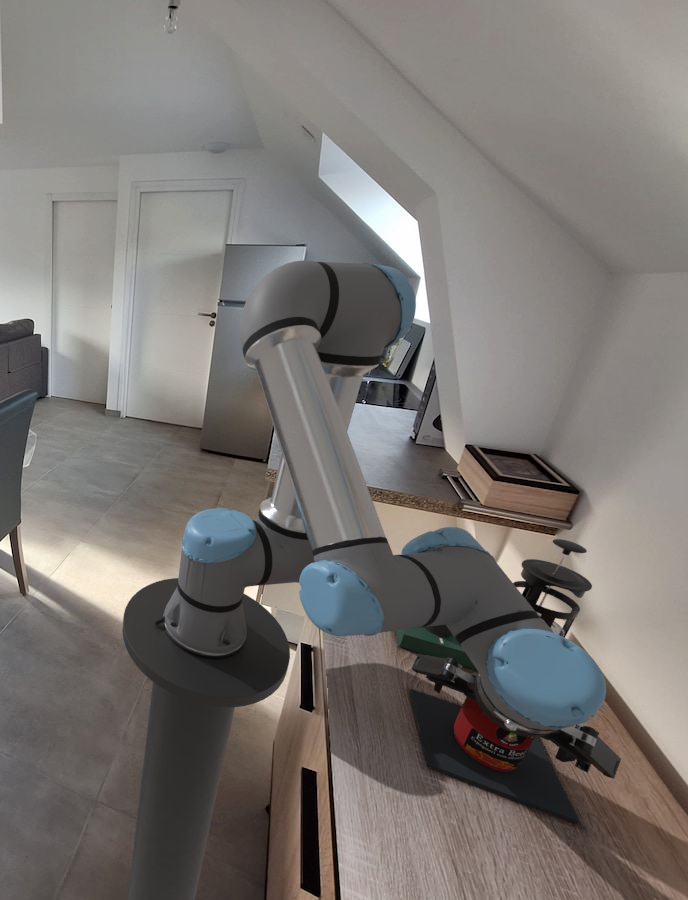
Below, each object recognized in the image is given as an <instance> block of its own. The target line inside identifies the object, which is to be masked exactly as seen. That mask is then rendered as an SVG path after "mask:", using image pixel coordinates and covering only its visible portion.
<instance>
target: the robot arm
mask: <svg viewBox="0 0 688 900" xmlns="http://www.w3.org/2000/svg"><path fill="white" fill-rule="evenodd" d="M416 309H417V301H416V293H415V290H414V287H413V285H412V284H411V283H410V282H409V278H408V277H407V276H406V275H405V273H403V272H402V271H401V270H399V269H397V268H395V267H392V266H388V265H383V264H376V263H370V262H361V263H357V262H335V261H315V260H303V259H301V260H294V261H291V262H287V263H284V264H282V265H280V266H277V267H275V268H274V269H272V270H270V271H269V272H268V273H267V274H265V275H264V276H263V277H262V278H261V279H260V280H259V281H258V282H257V283H256V284H255V285H254V287H253V289H252V290H251V291H250V292H249V295H248V297H247V299H246V301H245V303H244V306H243V309H242V312H241V316H240V322H239V341H240V347H241V351H242V354H243V358H244V361H245V364H246V366H247V367H248V368H249V369H251V370H254V371H256V373H257V377H258V379H259V383H260V386H261V389H262V392H263V397H264V399H265V402H266V405H267V409H268V412H269V413H268V414H269V416H270V420H271V422H272V426H273V430H274V432H275V435H276V438H277V441H278V445H279V449H280V452H281V454H280V458H279V463H278V466H277V471H276V476H275V479H274V485H273V489H272V493H271V496H270V497H268V498H266V499H264V500H263V501H262V502H261V503H260V505H259V509H258V513H257V517H256V518H251V517H250V516H249V515H248V514H246V513H244V512H243V511H240V510H236V509H232V510H229V508H223V507H222V508H221V507H218V508H208V509H205V510H202V511H199V512H197V513H195V514H194V515H193V516H191V517H190V519H189V520H188V522H187V523H186V525H185V528H184V532H183V537H182V539H181V552H180V561H179V570H178V576H177V578H178V585H177V588H176V590H175V592H174V593H173V595H172V597H171V599H170V600H169V602H168V604H167V606H166V608H165V611H164V616H163V617H161V618H159V619H157V620H155V623H156V625H158V624H160V623H162V622H163V626H164V629H165V632H166V634H167V635H168V637H169V638H170V639H171V641H172V642H173V643H174V644H176V645H177V646H178V647H179V648H181V649H182V650H184V651H186V652H188V653H190V654H192V655H195V656H198V657H202V658H207V659H224V658H228V657H231V656H233V655H235V654H237V653H238V652H239V651H240V650H241V649H242V648H243V646H244V644H245V640H246V635H247V626H246V621H245V616H244V611H243V606H242V599H243V594H245V589H246V588H248V587H249V588H250V587H258V586H269V585H280V584H292V583H298V584H299V586H300V590H298V591H299V592H298V594H299V600H300V603H301V605H302V608H303V610H304V613H305V614H306V616H307V617H308V619H309V621H310V622H311V623H312V624H313V625H314V626H315V627H317V628H318V629H319V631H322V632H323V633H325V634H328V635H331V636H335V637H352V636H353V637H354V636H366V637H371V636H375V635H377V634H380V633H388V632H396V630H402V629H409V628H418V627H420V628H421V627H429V626H437V625H445V624H446V626H447V627H448V629H449V630H450V631H451V633H452V634H453V636H454V637H455V639H456V640H457V641H458V643H459V645H460V646H462V648H463V649H464V651H465V652H466V654H467V655H468V657H469V658H470V660H471V661H472V663H473V664H474V666H475V667H476V669H477V670H476V671H477V672H476V671H474V672H472V673H468V672H466V671H464V670H463V669H462V668H463V666H462V665H459V662H458V661H457V660H455V659H454V658H450V657H448V658H446V659H444V658H439V657H433V656H429V655H426V654H422V653H418V654H417V656H416V658H415V660H414V662H413V664H412V667H411V670H412V671H413V672H414V673H416V674H420V675H424V676H425V678H426V679H428V681H430V682H432V683H434V686H433V691H434V692H435V693H437V694H440V693H441V692H442V689H443V687H445V688H448V689H451V690H453V691H457V692H459V693H461V694H463V695H464V696H465V698H466V697H468V698H469V699H471V700H472V701H474V702H476V703H478V705H479V707H480V708H481V710H482V711H483V712H484V713H485V715H486V716H487V717H488V718H489V719H490V720H492V721H493V722H494V723H495V724H497V725H498V726H500V727H501V728H503V729H505V730H507V731H509V732H511V733H514V734H517V735H521V736H526V737H538V738H542V739H544V740H546V741H550V742H551V743H553V744H554V745H555V746H557V747H558V749H557V752H556V755H555V756H554V759H555V760H558V761H560V762H561V763H568V762H575V761H576V762H575V764H574V767H575V768H577V769H579V770H581V771H583V772H585V773H586V774H587V773H589V771H590V769H591V766H593V767H594V768H595V769H597V771H598V772H599V773H601V774H602V775H603V776H605V777H606V778H610V779H615V778H616V774H617V772H618V769H619V766H620V763H621V760H622V758H621V757H620V756H619V755H618V753H616V752H615V751H614V750H613V749H612V748H611V747H610V746H609V745H608V744H607V743H606V742H605V741H604V740H603V739H602V738H601V737H600V731H599V732H598V730H596V729H595V728H594V727H592V726H589V725H583V726H582V725H581V724H585V723H587V722H588V721H589V720H590V718H594V717H595V715H596V713H597V712H598V711H599V710H600V709H601V707H602V706H603V704H604V703H605V700H606V696H607V682H606V679H605V676H604V673H603V672H602V670H601V668H600V666H599V665H598V664H597V662H596V660H595V659H594V658H593V657H592V656H591V655H590V654H589V653H588V652H587V651H585V649H584V648H582V647H581V646H579V645H578V644H576V643H575V642H573V641H571V640H570V639H568V638H566V637H565V638H564V637H562V636H560V635H557V634H555V633H554V632H553V631H552V630H551V629H550V627H549V626H548V625H547V624H546V623H545V621H544V620H543V619H541V618H540V617H539V615H538V614H537V613H536V611H535V610H534V609H533V608H532V607H531V605H530V604H529V603H528V602H527V600H526V599H525V598H524V597H523V595H522V593H521V591H520V590H519V588H518V587H515V585H514V584H513V583H514V582H512V580H511V579H510V577H509V576H508V575H507V574H506V572H505V571H504V570H503V569H502V568H501V566H500V565H499V564H498V563H497V561H496V558H494V556H493V555H492V554H490V552H489V551H487V550H486V549H485V548H484V547H483V546H482V545H481V544H480V542H478V540H477V539H476V538H475V537H474V536H473V535H472V534H471V533H470V532H469V531H468V530H466V529H464V528H460V527H456V526H447V527H440V528H438V529H436V530H429V531H427V532H424V533H422V534H420V535H417V536H415V537H414V538H412V539H411V540H409V541H408V542H407V543H406V544H405V545H404V546H403V547H402V549H401V551H400V554H393V553H394V552H393V550H392V548H391V546H390V545H391V544H390V543H389V540H388V538H387V536H386V534H385V531H384V528H383V526H382V523H381V520H380V518H379V514H378V512H377V509H376V507H375V504H374V502H373V498H372V496H371V493H370V491H369V487H368V485H367V482H366V479H365V477H364V474H363V472H362V469H361V466H360V462H359V460H358V458H357V455H356V453H355V449H354V446H353V445H352V442H351V438H350V436H349V433H348V430H349V426H350V423H351V421H352V417H353V413H354V409H355V407H356V402H357V399H358V396H359V392H360V389H361V385H362V383H363V378H364V376H365V375H366V374H368V373H369V372H370V371H373V370H374V369H376V368H377V367H379V365H380V362H381V359H382V356H383V353H384V350H386V349H389V348H391V347H392V346H395V345H397V344H398V343H399V342H400V340H401V339H404V338H405V337H406V335H407V334H408V333H409V331H410V329H411V328H412V325H413V323H414V319H415V316H416Z"/></svg>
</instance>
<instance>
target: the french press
mask: <svg viewBox="0 0 688 900" xmlns="http://www.w3.org/2000/svg"><path fill="white" fill-rule="evenodd" d="M552 543H553V544H554V545H555V546H556V547H558V548H560V549H562V551H561V553H562V557H561V559H560V561H559V563H554V562H551V561H548V560H547V561H546V560H541V559H535V558H530V559H524V560H522V562H521V568H522V570H521V572H520V576H521V578H522V579H523V580H517V581H514V582H512V583H513V584H514V585H515V587H516V588H523V591H522V593H521V594H522V595H523V597H524V598H525V599H526V600H527V602H528V603H529V604H530V605H531V607H532V608H533V609H534V610H535V611H536V613H537V614H538V615H539V617H540V618H541V619H543V620H544V621H545V623H546V624H547V625H548V626H549V627H550V629H551V630H552V631H553V632H554V633H555V634H557V635H560V636H562V637H564V638H566V636H567V634H568V633H569V631H570V628H571V626H573V623H574V621H575V619H576V618H577V616H578V615H579V613H580V611H581V608H580V606H579V604H578V603H577V601H575V600H574V599H572V598H571V597H570V596H568V595H566V594H565V593H563V592H561V591H559V590H557V589H555V588H553V587H556V588H560V589H562V590H567V591H569V592H570V593H572V594H573V595H574V596H575V597H577V598H578V599H581V598H583V597H584V595H585V593H586V592H590V591H591V590H592V588H593V584H592V583H591V582H590V580H588V579H587V578H586V577H585V576H583V574H580V573H578V572H576V571H574V570H573V569H570V568H568V567H565V566H563V563H564V562H565V559H566V557H567V556H570V555H571V554H572V553H575V554H576V553H577V554H585V553H587V551H588V550H587V549H586V548H585V547H584V546H582V545H580V544H578V543H576V542H574V541H571V540H568V539H567V540H566V539H563V538H554V539H553V540H552ZM542 593H543V596H542V598H541V600H540V597H541V595H542ZM548 595H549V596H552V597H554V598H556V599H558V600H559V601H561V602H563V603H564V604H566V605H567V606H568V607H569V608H571V610H570V612H563V611H558V610H553V609H550V608H547V607H544V606H543V604H544V602H545V600H546V599H547V596H548ZM539 600H540V602H539ZM538 602H539V604H537V603H538ZM557 619H558V620H563V621H564V620H565V622H564V624H563V626H561V625H560V624H559V623H557V622H556V621H555V620H557Z"/></svg>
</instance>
